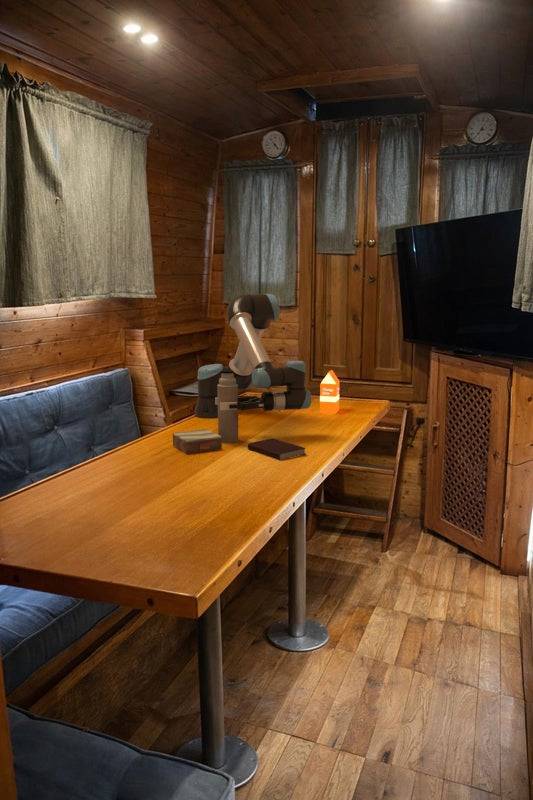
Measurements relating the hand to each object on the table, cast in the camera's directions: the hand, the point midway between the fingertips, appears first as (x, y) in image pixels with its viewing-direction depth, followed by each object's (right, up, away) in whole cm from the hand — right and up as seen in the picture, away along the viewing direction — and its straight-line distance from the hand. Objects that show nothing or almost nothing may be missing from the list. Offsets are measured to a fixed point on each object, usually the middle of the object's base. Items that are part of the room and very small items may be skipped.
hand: (217, 403), depth 253 cm
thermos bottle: (+4, -15, +4) cm, 16 cm away
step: (-7, -17, -7) cm, 19 cm away
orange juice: (+49, -5, +57) cm, 76 cm away
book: (+23, -18, -13) cm, 32 cm away
